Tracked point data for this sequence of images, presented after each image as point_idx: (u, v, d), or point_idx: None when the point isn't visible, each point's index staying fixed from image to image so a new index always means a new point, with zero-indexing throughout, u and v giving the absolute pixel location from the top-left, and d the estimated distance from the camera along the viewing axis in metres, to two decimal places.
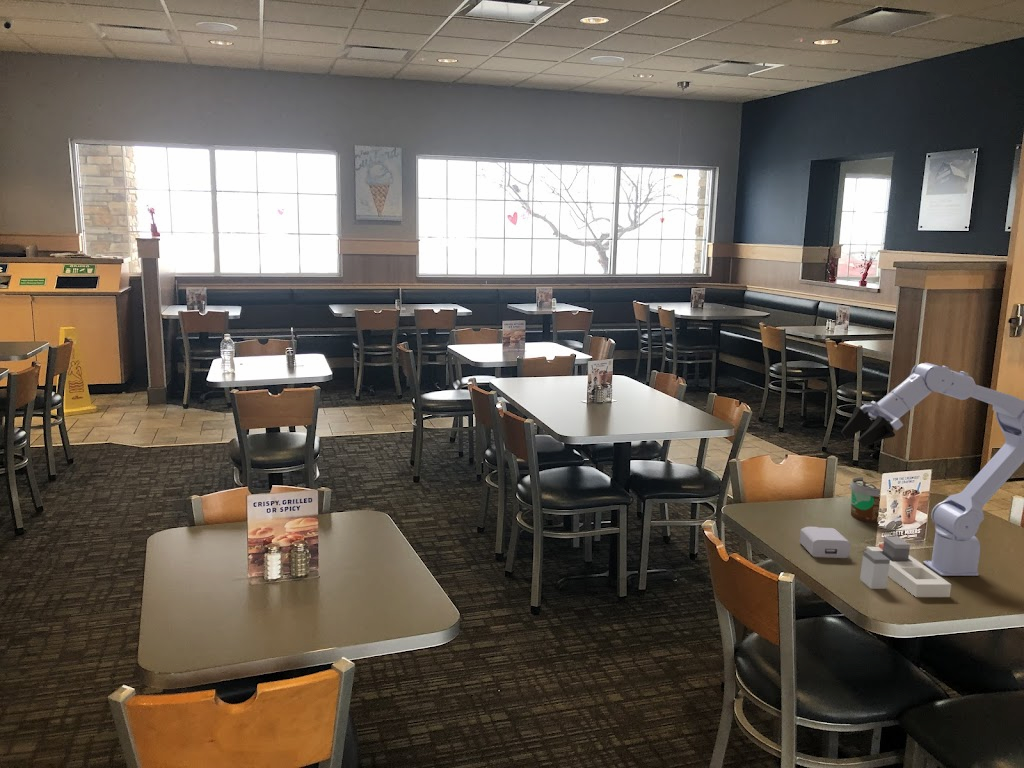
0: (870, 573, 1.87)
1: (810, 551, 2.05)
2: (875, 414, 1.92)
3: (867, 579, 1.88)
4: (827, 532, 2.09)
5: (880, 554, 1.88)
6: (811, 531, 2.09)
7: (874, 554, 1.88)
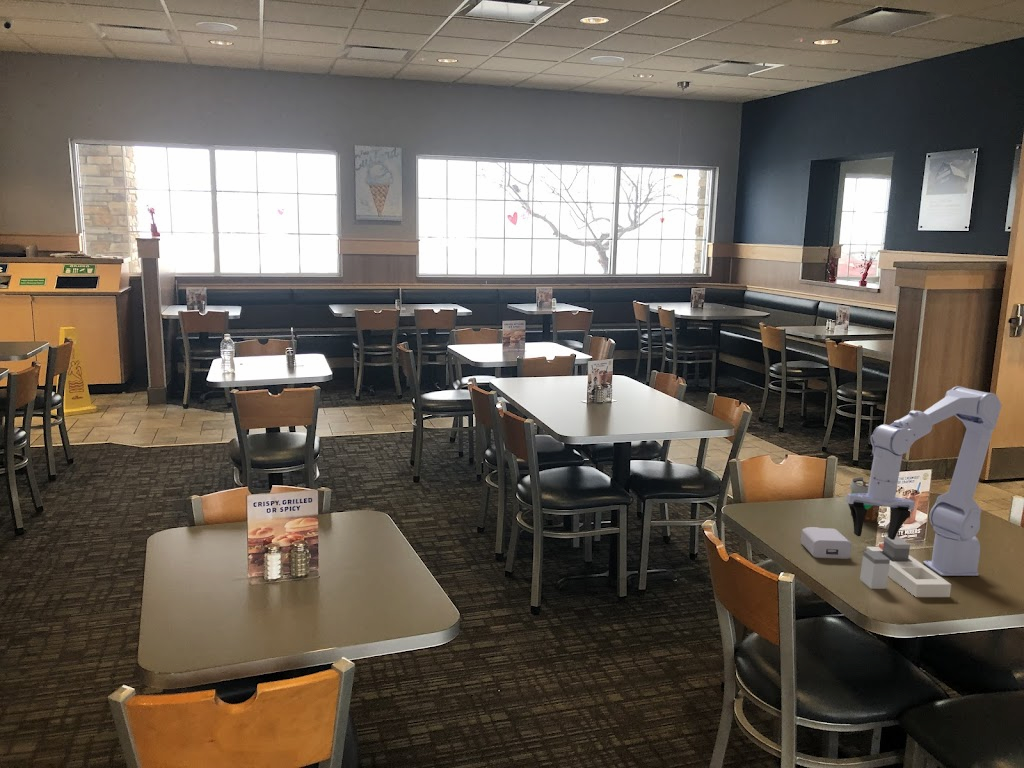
0: (870, 573, 1.87)
1: (811, 551, 2.05)
2: None
3: (867, 579, 1.88)
4: (829, 532, 2.08)
5: (880, 554, 1.88)
6: (812, 531, 2.09)
7: (874, 554, 1.88)
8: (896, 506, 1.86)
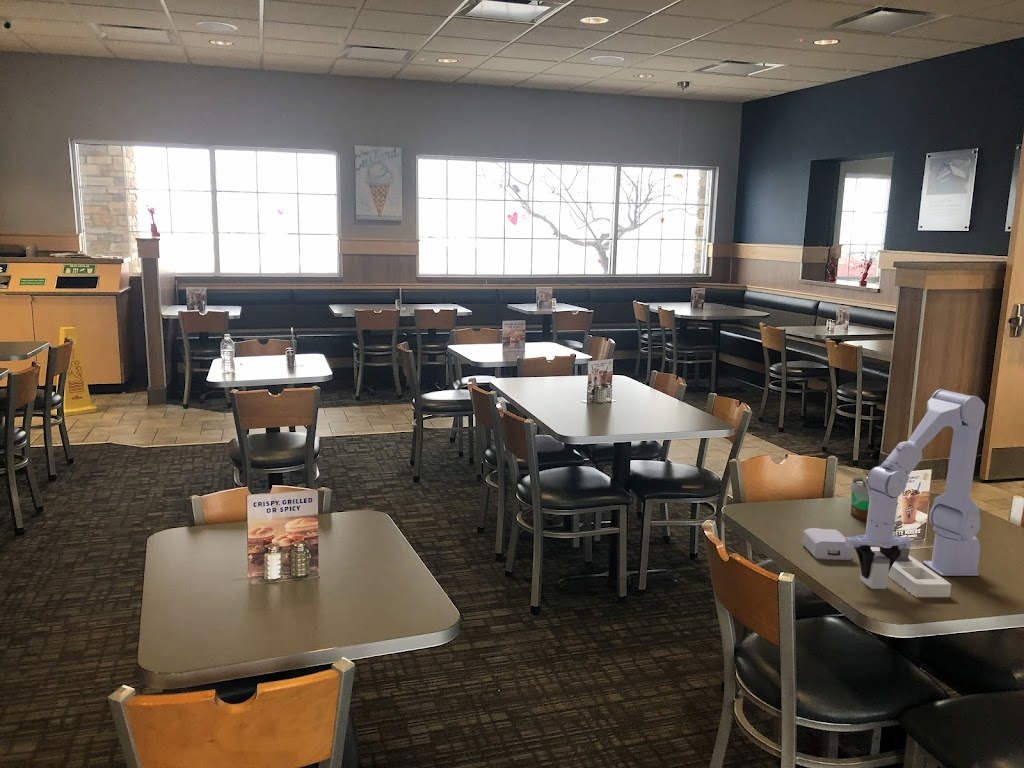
0: (870, 573, 1.87)
1: (813, 553, 2.04)
2: None
3: None
4: (830, 533, 2.08)
5: (880, 554, 1.88)
6: (814, 532, 2.08)
7: None
8: (893, 545, 1.87)
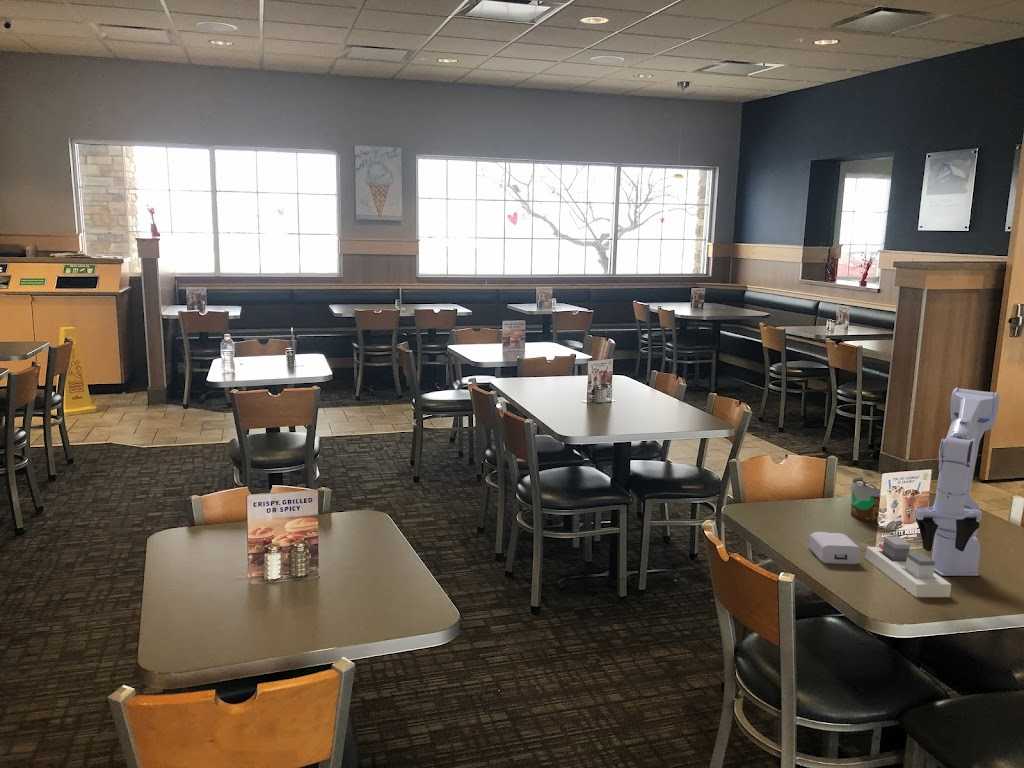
0: (914, 575, 1.87)
1: (819, 557, 2.01)
2: None
3: None
4: (837, 537, 2.05)
5: (924, 556, 1.88)
6: (821, 536, 2.05)
7: (918, 556, 1.88)
8: (964, 517, 1.83)
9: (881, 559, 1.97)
